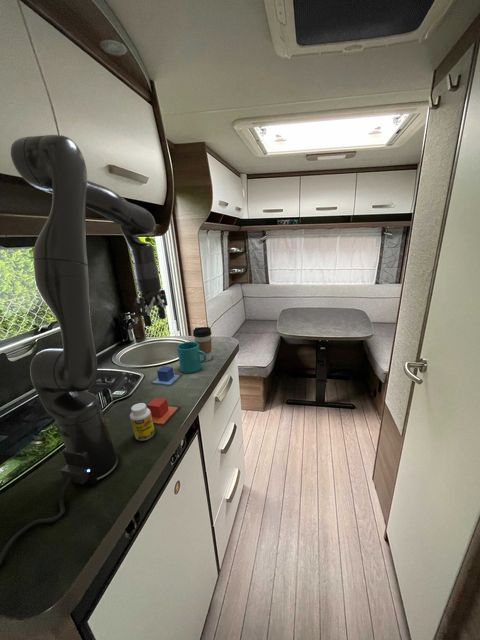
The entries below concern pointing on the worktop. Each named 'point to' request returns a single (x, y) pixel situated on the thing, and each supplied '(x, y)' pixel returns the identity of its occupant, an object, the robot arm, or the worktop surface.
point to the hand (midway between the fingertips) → (155, 322)
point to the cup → (190, 357)
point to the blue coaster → (166, 381)
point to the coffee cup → (203, 341)
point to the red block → (158, 407)
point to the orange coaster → (165, 417)
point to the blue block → (165, 373)
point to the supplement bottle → (142, 422)
